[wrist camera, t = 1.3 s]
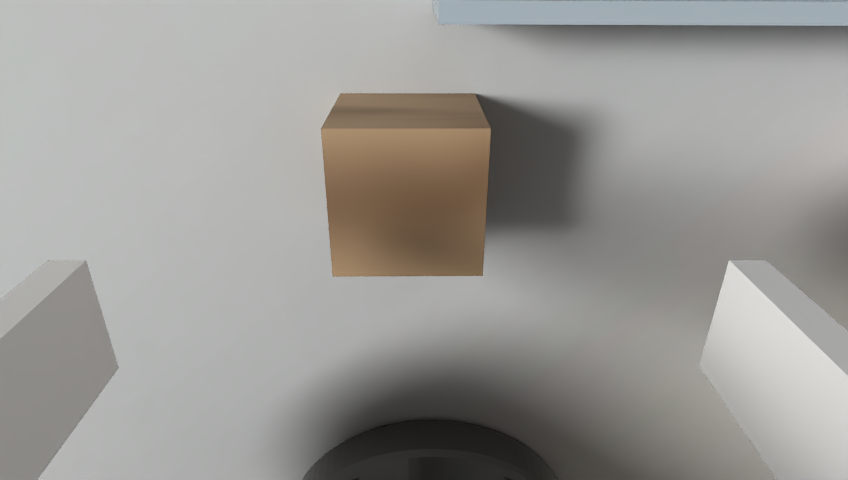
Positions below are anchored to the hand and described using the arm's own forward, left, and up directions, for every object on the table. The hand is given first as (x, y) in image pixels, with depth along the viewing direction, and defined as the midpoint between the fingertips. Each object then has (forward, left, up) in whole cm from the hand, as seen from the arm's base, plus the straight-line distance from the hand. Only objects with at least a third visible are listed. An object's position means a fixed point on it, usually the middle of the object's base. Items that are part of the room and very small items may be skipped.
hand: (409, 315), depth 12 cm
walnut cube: (0, 0, -11) cm, 11 cm away
